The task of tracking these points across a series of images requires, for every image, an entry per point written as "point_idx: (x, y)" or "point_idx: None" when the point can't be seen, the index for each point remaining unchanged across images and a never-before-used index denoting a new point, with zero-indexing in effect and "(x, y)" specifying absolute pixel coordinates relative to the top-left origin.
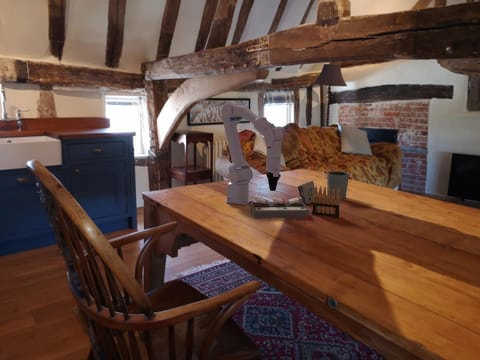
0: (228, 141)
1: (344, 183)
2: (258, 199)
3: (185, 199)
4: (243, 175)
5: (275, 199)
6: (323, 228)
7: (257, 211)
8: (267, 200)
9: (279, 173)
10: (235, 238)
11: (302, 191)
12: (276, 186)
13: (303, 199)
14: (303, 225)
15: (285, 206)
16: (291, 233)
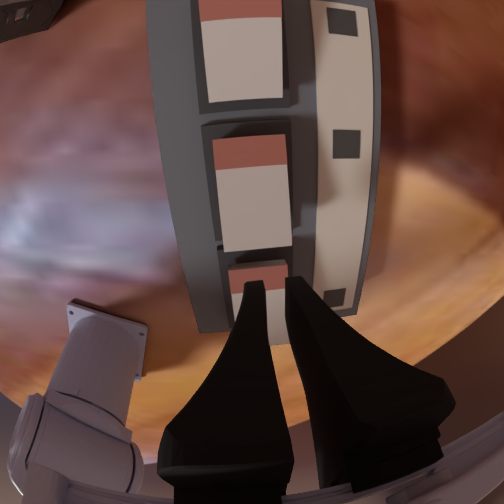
0: None
1: None
2: (287, 332)
3: (143, 436)
4: (100, 462)
5: (290, 228)
6: (475, 24)
7: (358, 299)
8: (249, 272)
9: (290, 449)
10: (468, 317)
11: (5, 15)
12: (322, 300)
13: (43, 12)
14: (453, 85)
15: (288, 131)
16: (500, 165)
